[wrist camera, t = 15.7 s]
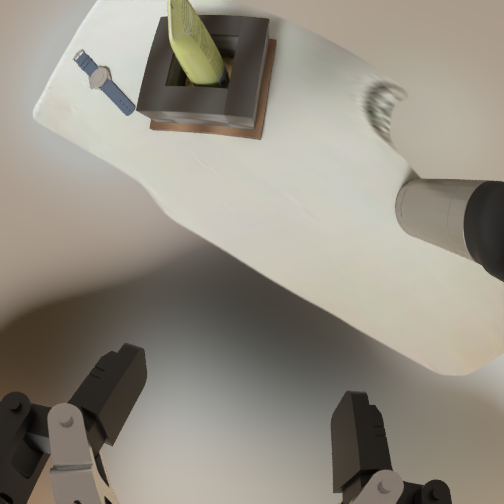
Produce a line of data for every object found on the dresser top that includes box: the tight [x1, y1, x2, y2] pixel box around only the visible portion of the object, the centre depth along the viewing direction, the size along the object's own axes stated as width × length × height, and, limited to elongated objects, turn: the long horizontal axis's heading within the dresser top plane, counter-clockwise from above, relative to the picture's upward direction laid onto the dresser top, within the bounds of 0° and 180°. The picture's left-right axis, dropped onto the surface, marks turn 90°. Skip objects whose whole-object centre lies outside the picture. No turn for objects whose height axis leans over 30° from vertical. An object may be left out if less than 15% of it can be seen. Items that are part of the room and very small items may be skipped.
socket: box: [136, 15, 276, 140], centre depth 32 cm, size 16×16×9 cm
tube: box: [168, 0, 229, 89], centre depth 25 cm, size 6×5×20 cm
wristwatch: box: [73, 50, 135, 116], centre depth 36 cm, size 4×20×1 cm, turn 42°
